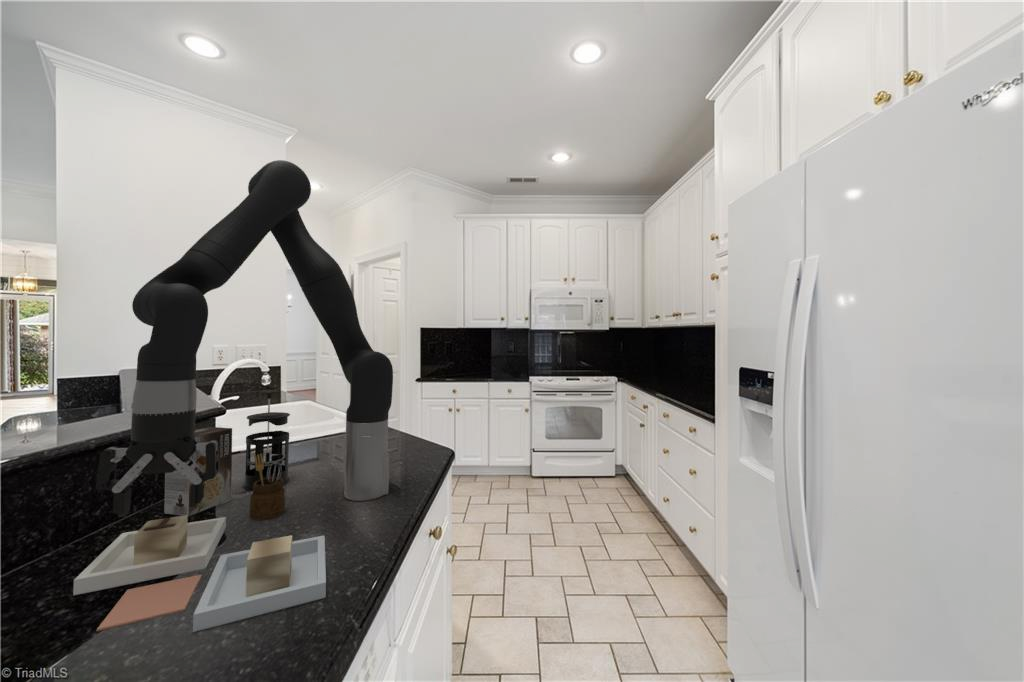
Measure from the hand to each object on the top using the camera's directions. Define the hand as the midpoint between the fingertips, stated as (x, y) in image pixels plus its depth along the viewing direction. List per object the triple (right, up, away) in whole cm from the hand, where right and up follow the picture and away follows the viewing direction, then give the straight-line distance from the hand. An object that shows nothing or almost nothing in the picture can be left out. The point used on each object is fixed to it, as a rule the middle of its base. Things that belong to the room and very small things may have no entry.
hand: (160, 510), depth 60 cm
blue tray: (+21, -8, -6) cm, 24 cm away
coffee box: (-9, -8, +19) cm, 22 cm away
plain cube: (+21, -8, -6) cm, 24 cm away
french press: (-5, -9, +33) cm, 35 cm away
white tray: (0, -8, 0) cm, 8 cm away
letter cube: (0, -7, 0) cm, 7 cm away
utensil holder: (+7, -8, +16) cm, 19 cm away
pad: (+9, -8, -10) cm, 16 cm away
